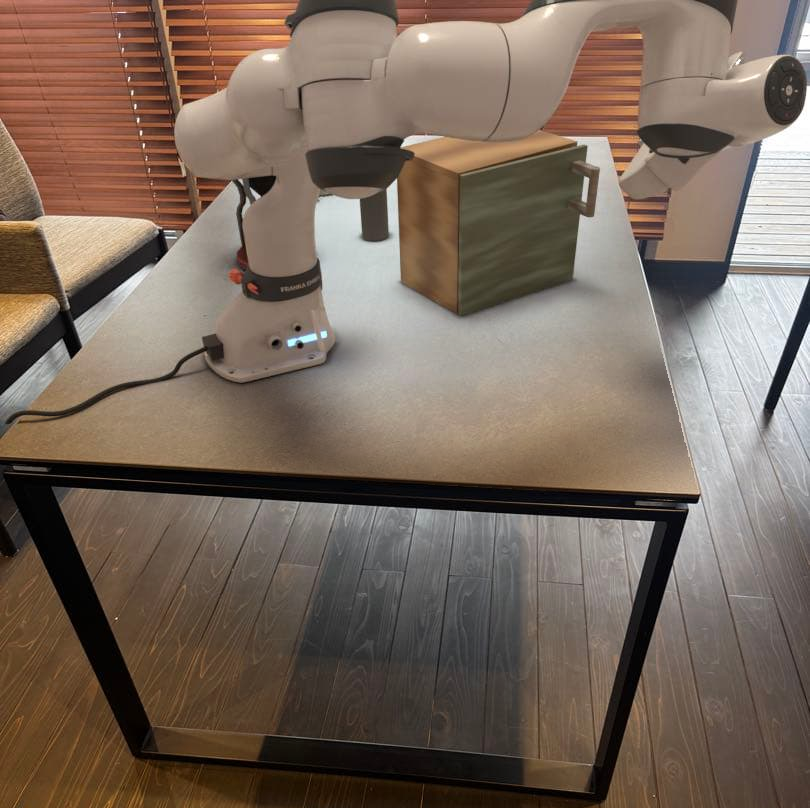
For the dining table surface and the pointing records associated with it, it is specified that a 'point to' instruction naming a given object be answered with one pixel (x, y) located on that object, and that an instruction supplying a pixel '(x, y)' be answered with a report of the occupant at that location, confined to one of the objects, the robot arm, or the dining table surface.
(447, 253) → the cupboard
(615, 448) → the dining table surface
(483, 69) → the robot arm
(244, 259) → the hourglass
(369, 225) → the bottle
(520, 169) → the door
